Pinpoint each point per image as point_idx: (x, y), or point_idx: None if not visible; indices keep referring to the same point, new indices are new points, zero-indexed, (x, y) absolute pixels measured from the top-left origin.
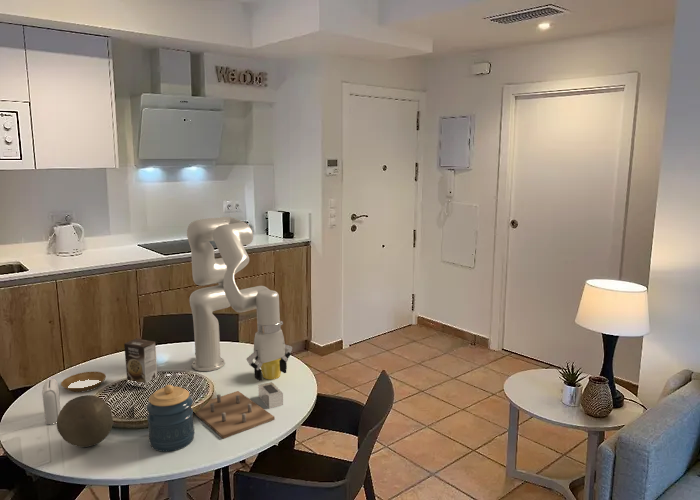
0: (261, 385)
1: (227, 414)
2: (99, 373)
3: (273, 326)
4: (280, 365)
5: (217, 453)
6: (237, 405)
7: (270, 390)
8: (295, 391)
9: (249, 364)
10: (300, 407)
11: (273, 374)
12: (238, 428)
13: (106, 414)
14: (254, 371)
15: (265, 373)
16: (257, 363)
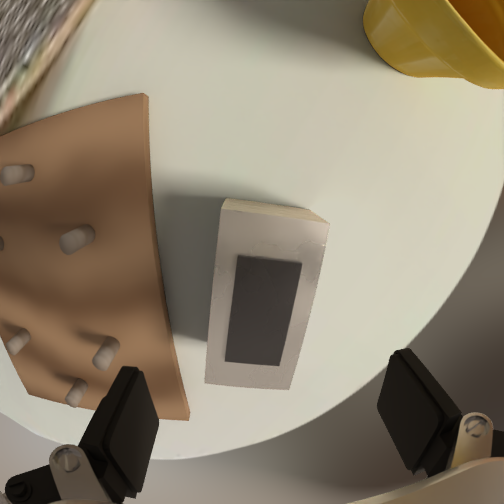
0: (237, 228)
1: (35, 304)
2: None
3: None
4: (411, 399)
5: (28, 416)
6: (78, 259)
7: (245, 340)
8: (404, 266)
9: (11, 482)
10: (321, 394)
11: (411, 67)
12: (63, 398)
13: None
14: (86, 432)
15: (378, 29)
16: (99, 500)
